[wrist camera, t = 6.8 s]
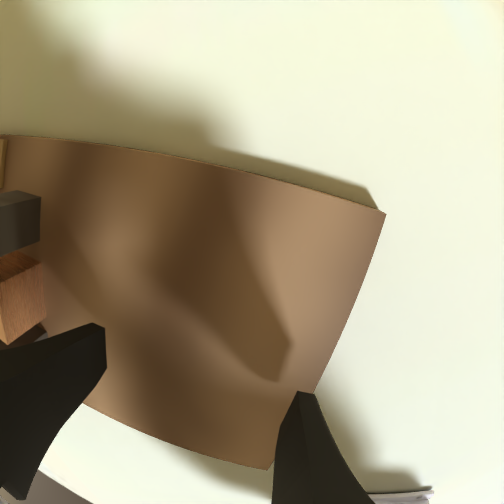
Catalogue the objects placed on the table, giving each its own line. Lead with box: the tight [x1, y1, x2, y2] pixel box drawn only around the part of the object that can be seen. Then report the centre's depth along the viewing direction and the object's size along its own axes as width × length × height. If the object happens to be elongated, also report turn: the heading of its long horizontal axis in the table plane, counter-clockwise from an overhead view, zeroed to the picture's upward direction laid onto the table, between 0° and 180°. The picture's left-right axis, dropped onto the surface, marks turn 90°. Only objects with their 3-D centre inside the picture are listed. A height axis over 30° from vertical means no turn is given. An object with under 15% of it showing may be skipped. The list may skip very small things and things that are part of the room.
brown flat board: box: [0, 135, 386, 470], centre depth 10 cm, size 24×14×4 cm, turn 76°
